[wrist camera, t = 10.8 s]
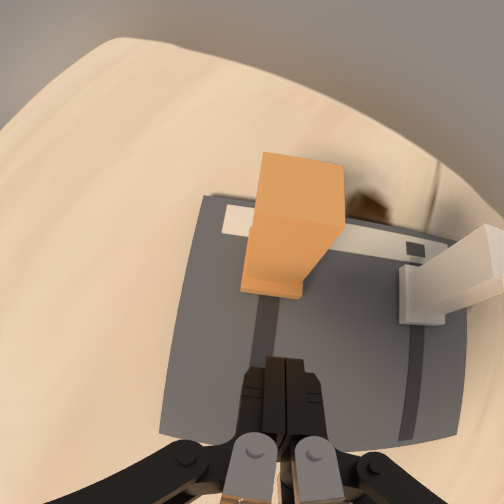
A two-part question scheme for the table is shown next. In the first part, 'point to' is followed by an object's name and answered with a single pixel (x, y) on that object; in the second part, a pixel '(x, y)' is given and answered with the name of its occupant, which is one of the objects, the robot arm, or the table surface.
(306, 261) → the orange tab
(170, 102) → the table surface
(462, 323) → the switch panel
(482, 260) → the white slide tab
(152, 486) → the robot arm
